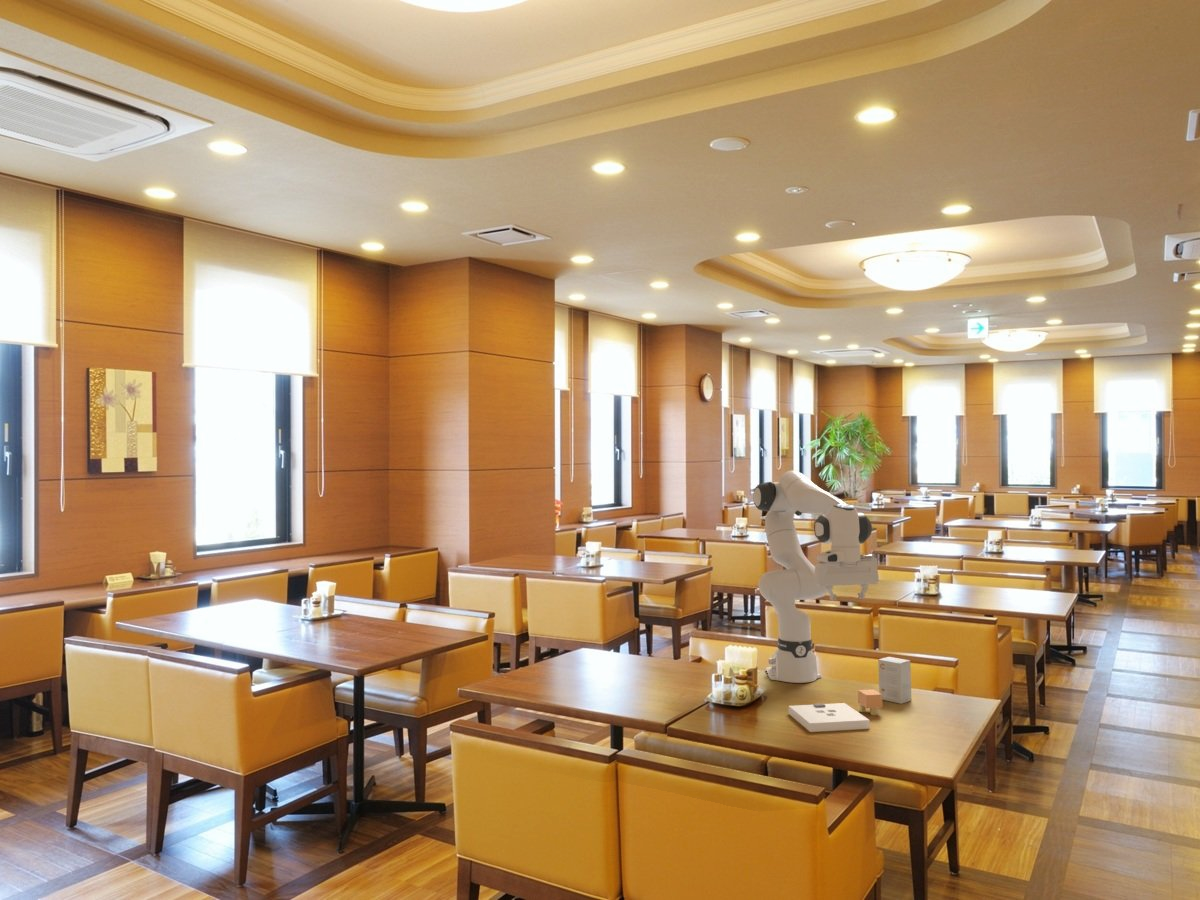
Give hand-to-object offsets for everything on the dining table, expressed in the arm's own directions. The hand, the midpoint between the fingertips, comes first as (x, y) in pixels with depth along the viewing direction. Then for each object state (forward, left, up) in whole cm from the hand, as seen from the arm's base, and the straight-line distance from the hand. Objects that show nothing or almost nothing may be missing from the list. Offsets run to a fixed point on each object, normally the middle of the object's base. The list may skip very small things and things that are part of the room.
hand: (847, 599), depth 273 cm
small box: (-6, +18, -34) cm, 39 cm away
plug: (+6, +4, -34) cm, 35 cm away
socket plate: (+12, -12, -34) cm, 38 cm away
